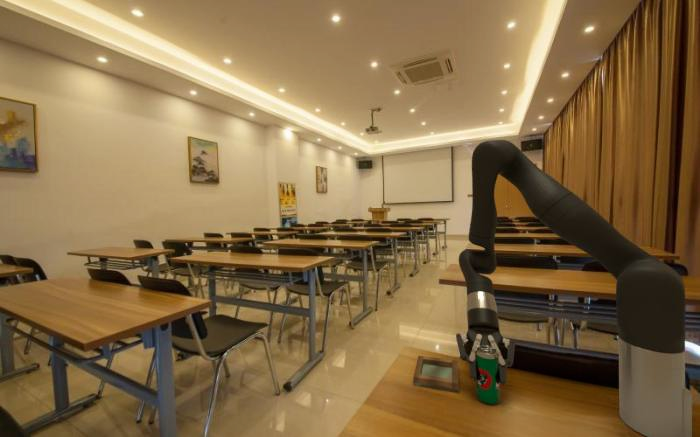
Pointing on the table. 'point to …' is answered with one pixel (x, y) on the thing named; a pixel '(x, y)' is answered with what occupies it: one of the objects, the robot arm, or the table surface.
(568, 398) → the table surface
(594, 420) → the table surface
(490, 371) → the soda can
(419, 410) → the table surface
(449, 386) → the tray
